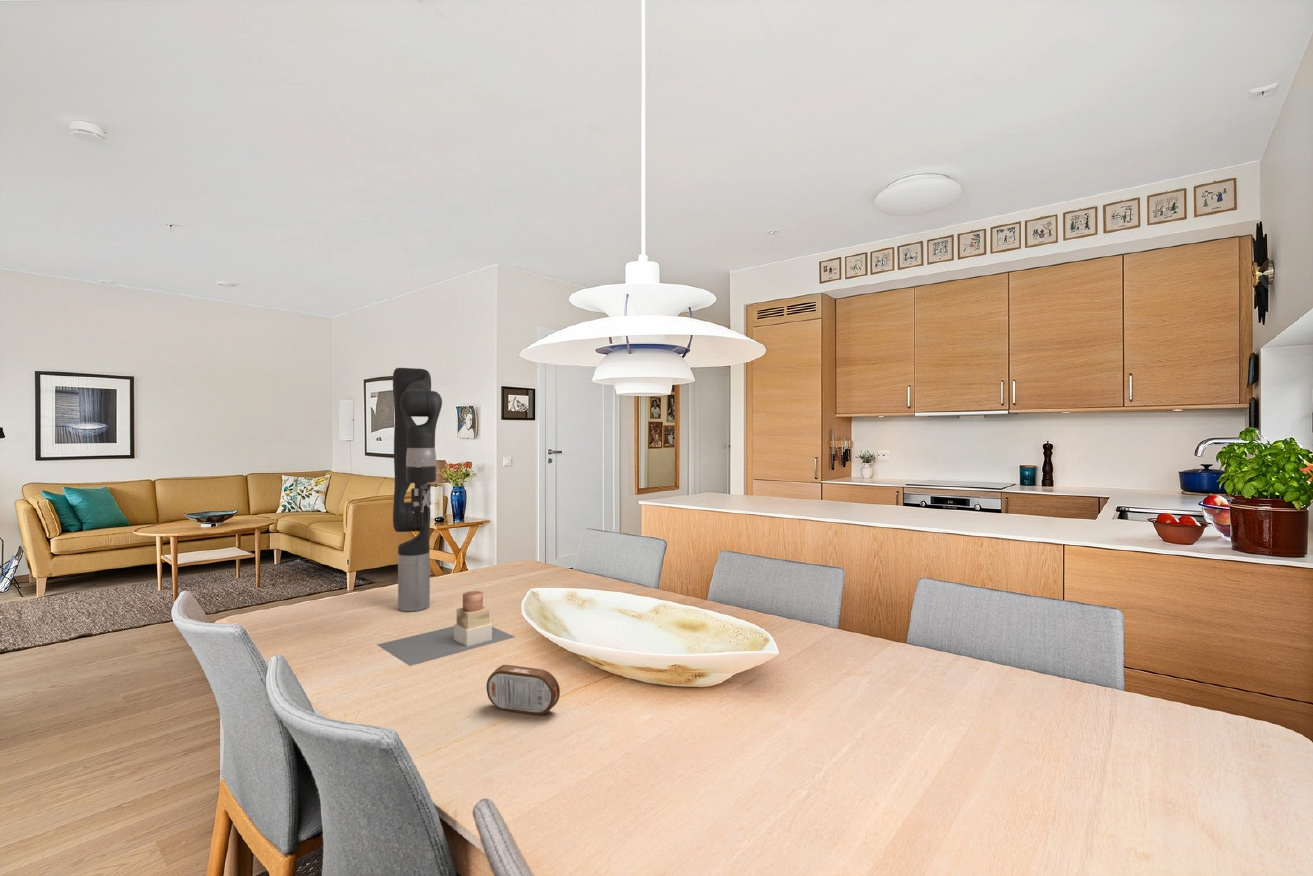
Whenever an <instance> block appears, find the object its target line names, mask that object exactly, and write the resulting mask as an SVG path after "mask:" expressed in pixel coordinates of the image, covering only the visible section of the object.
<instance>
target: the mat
mask: <svg viewBox="0 0 1313 876" xmlns="http://www.w3.org/2000/svg"><path fill="white" fill-rule="evenodd" d="M513 638H516V636H515V635H513V634H510V633H508V632H506V631H503V630H501V629H498V628H496V627H494V626H492V640H489V641H485V642H481V643H478V644H474V645H470V646H465V645H463V644H461V643H459V642H457V641H455V640H454V625H453V626H448V627H444V628H441V629H440V628H439V629H436V630H433V631H428V632H424V633H423V632H422V633H419V634H416V635H411V636H407V637H403V638H399V639H394V640H390V641H386V642H381V643H377V644H376V645H377V646H378V647H380V648H381V649H383V650H384V651H386V652H387V653H389V654H390V655H392V656H393V657H395V658H397V659H399V660H400V661H402V662H403V663H404V664H406V665H408V666H409V667H411V666H414V665H419V664H422V663H425V662H430V661H434V660H438V659H441V658H445V657H448V656H452V655H455V654H459V653H462V652H466V651H470V650H473V649H476V648H482V647H484V646H487V645H491V644H496V643H499V642H503V641H506V640H510V639H513Z"/></svg>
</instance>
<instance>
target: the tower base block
mask: <svg viewBox="0 0 1313 876" xmlns="http://www.w3.org/2000/svg"><path fill="white" fill-rule="evenodd" d="M453 626H454V640H455V641H457V642H459V643H461V644H463V645H465V646H470V645H474V644H478V643H481V642H485V641H489V640H492V627H493V624H492V623H491V622H489V625H484V626H480V627H476V628H472V629H465V628H463V627H461V626H459V625H457V623H454V624H453Z"/></svg>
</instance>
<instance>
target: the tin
mask: <svg viewBox="0 0 1313 876" xmlns="http://www.w3.org/2000/svg"><path fill="white" fill-rule="evenodd" d="M486 693H487V698H488V699H489V701H490V703H491V704H493V706H495V707H496V708H498V709H500V710H501V711H507V712H514V713H515V712H516V713H522V714H528V715H534V716H535V715H536V716H542V715H545V714H547V713H548V712H549V711H551V710H552V708H554V707H555V706H556V704H558V701H559V699H560V696H561V695H560V694H561V688H560V685H559V683H558V681H557V679H556V678H555V676H554V675H553V674H552V673H551V672H549V671H547V670H545V669H542V668H536V667H527V666H521V665H520V666H519V665H512V664H504V665H500V666H498V667H497V668H495V670H494V671H493V672H492V673H491V674H490V675H489V677H488V678H487V680H486Z"/></svg>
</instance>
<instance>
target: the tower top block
mask: <svg viewBox="0 0 1313 876" xmlns="http://www.w3.org/2000/svg"><path fill="white" fill-rule="evenodd" d="M489 623H490V608H487V607H485V606H483V609H482V610H479V611H474V612H466V611H463V607H460V608H456V624H457V625H459V626H461V627H463V628H465V629H472V628H476V627H480V626H484V625H489Z"/></svg>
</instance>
